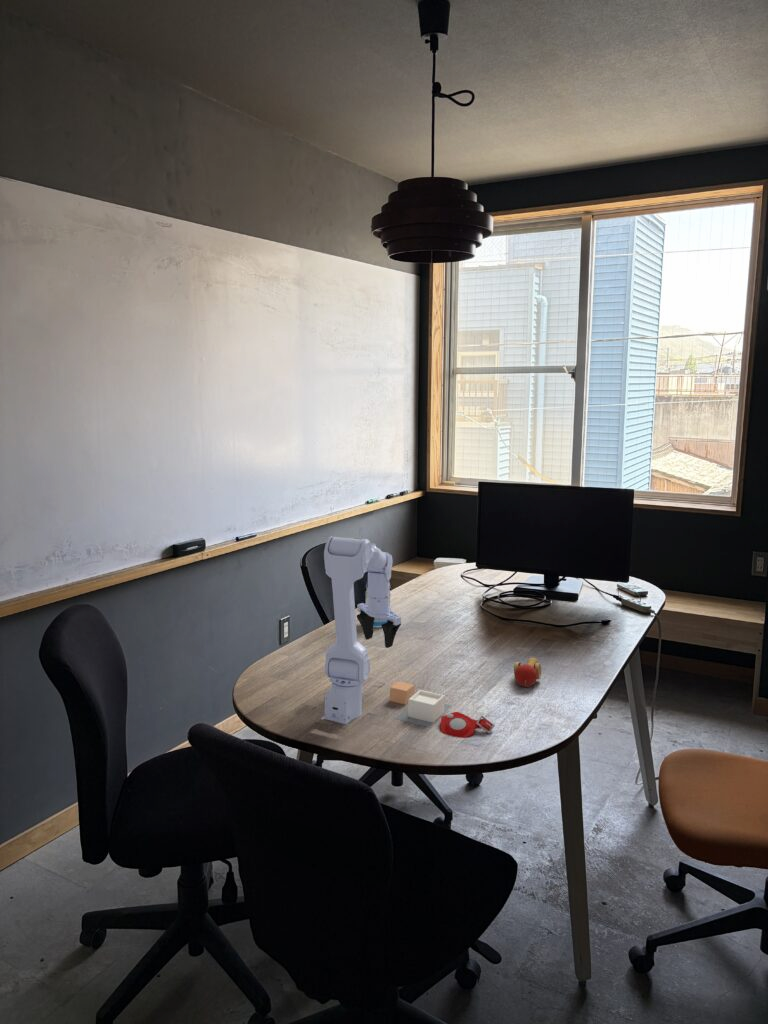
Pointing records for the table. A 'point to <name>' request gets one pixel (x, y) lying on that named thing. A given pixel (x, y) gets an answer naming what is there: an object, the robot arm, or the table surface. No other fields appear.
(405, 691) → the orange block
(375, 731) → the table surface
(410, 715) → the cream base block
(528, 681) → the kendama
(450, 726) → the tracker holder
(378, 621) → the beverage bottle
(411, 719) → the baseplate
